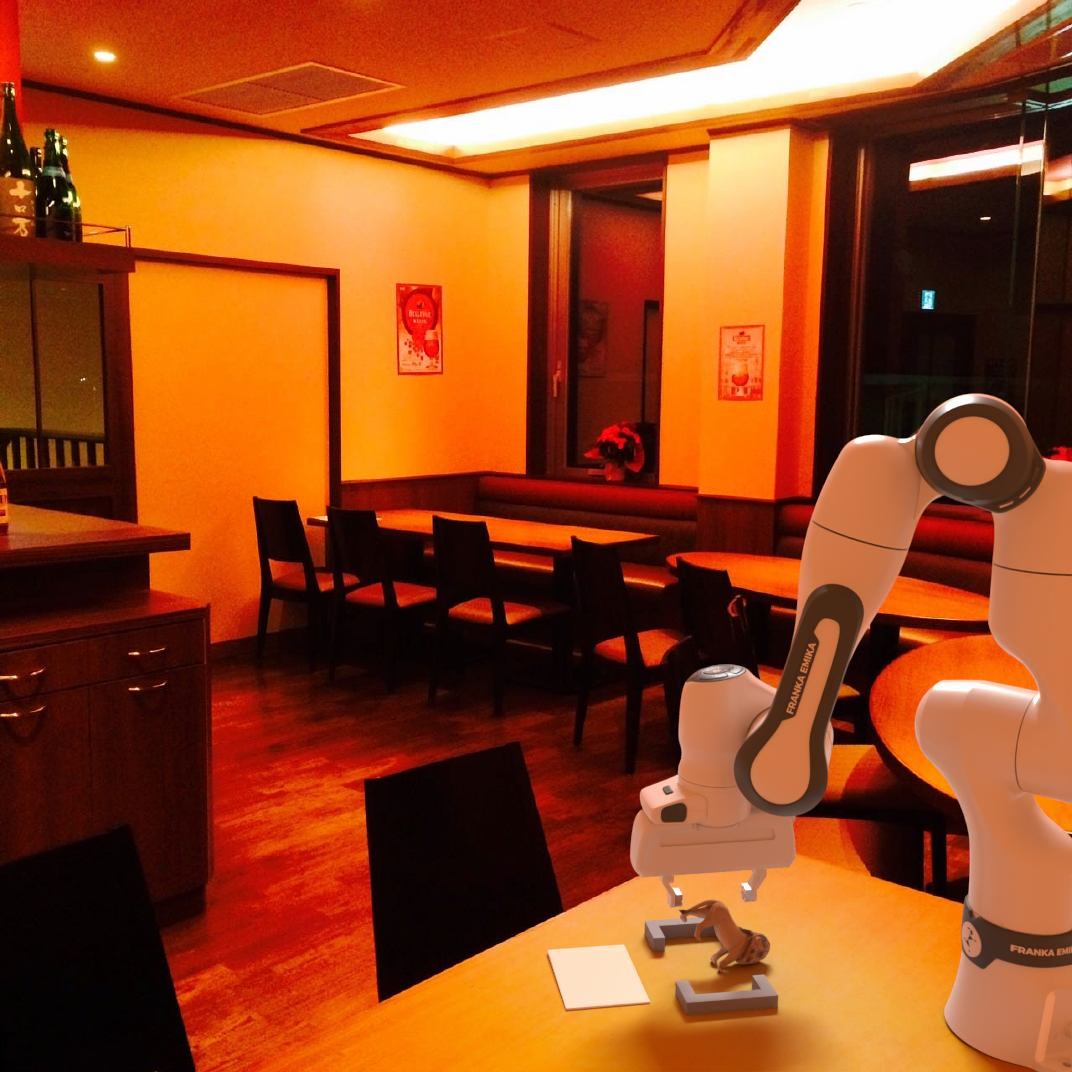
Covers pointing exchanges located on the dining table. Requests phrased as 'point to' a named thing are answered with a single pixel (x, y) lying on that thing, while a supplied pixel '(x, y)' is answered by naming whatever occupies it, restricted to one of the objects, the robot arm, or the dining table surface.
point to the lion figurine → (728, 934)
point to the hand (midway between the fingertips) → (711, 902)
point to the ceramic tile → (596, 977)
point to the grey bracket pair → (711, 1002)
